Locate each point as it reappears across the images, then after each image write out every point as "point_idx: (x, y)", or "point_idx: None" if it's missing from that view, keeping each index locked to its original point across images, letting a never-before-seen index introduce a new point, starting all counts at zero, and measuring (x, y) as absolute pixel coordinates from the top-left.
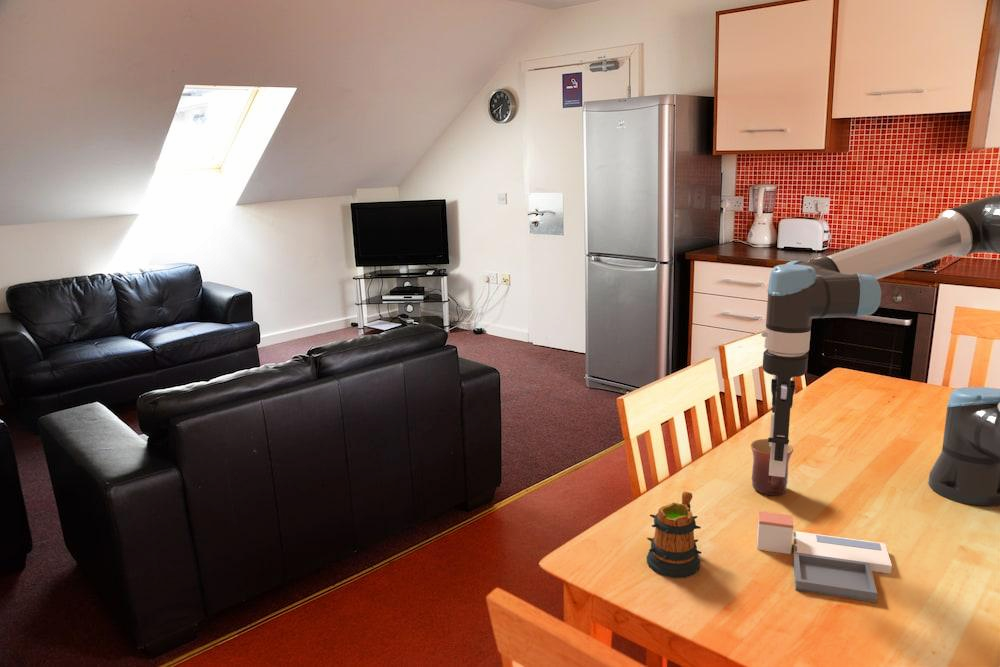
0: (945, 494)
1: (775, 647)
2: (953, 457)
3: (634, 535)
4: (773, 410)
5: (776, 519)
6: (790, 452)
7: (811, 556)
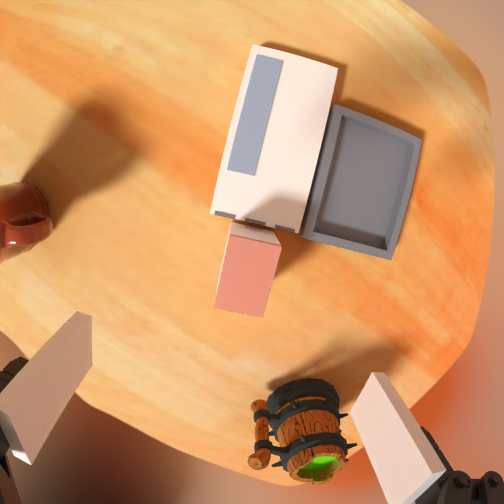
0: None
1: (468, 306)
2: None
3: (227, 438)
4: (11, 473)
5: (253, 278)
6: None
7: (318, 208)
